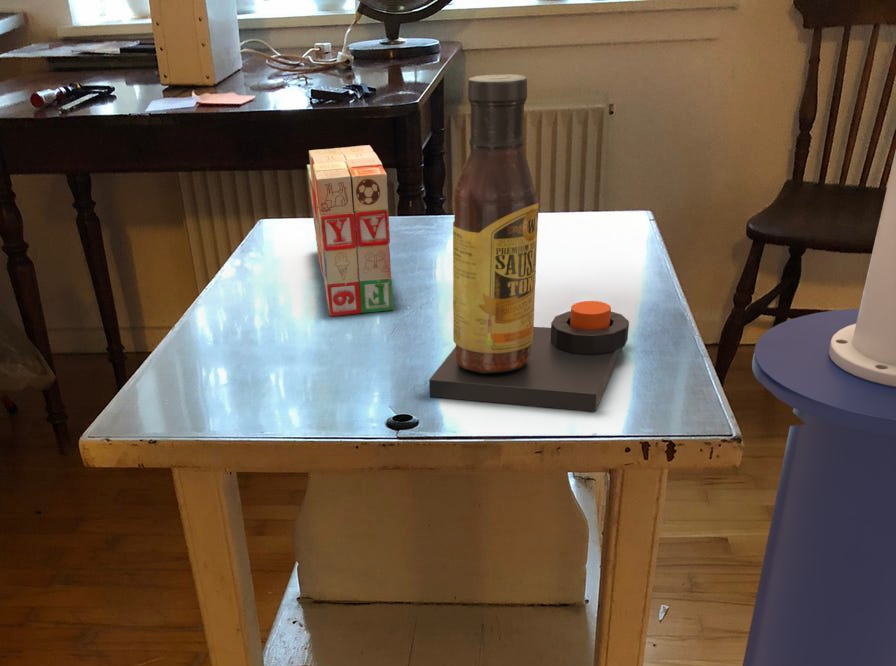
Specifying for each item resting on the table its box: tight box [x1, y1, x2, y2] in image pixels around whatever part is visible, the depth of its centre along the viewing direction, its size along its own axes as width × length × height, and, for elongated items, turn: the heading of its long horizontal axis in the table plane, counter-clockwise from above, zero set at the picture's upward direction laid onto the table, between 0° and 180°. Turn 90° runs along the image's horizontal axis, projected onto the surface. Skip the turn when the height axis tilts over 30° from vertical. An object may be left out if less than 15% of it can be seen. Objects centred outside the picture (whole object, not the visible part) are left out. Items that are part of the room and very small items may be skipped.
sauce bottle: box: [452, 73, 539, 374], centre depth 72 cm, size 6×6×20 cm
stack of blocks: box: [306, 144, 394, 317], centre depth 97 cm, size 21×6×12 cm, turn 8°
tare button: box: [570, 300, 612, 330], centre depth 79 cm, size 3×3×2 cm
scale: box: [428, 310, 630, 412], centre depth 79 cm, size 14×14×3 cm
